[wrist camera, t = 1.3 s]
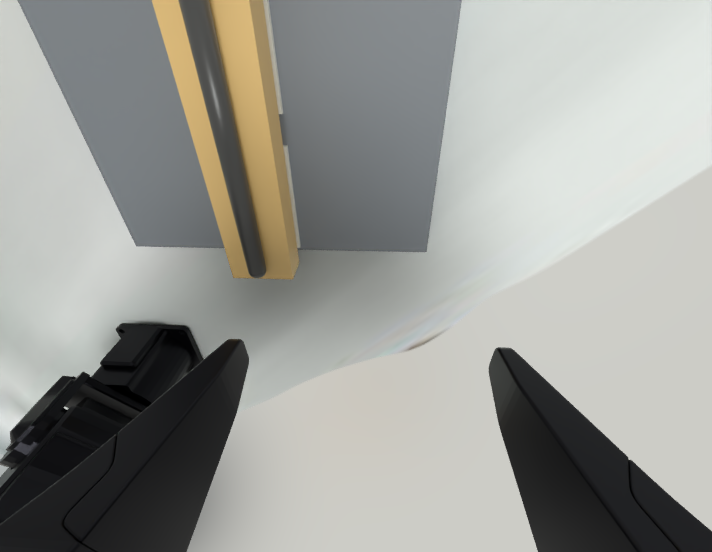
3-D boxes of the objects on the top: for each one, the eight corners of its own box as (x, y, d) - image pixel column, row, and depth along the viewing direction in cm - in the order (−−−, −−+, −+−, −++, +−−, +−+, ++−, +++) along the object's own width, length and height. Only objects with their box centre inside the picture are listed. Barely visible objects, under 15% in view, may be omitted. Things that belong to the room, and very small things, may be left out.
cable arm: (300, 260, 20) (289, 290, 18) (244, 259, 20) (226, 288, 18) (223, -298, 9) (167, -426, 7) (103, -290, 9) (5, -411, 7)
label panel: (424, 243, 22) (428, 261, 20) (146, 237, 23) (126, 254, 21) (486, -226, 11) (508, -283, 9) (-50, -197, 12) (-129, -241, 10)
